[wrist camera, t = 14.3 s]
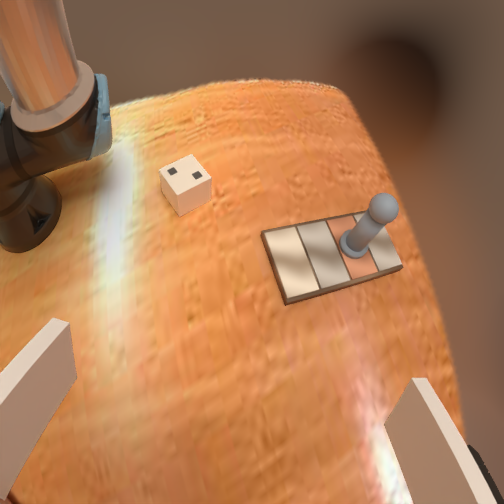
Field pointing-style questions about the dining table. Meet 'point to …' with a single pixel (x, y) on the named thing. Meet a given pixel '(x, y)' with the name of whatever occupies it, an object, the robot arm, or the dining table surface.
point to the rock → (7, 503)
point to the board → (324, 257)
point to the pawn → (369, 225)
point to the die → (185, 184)
